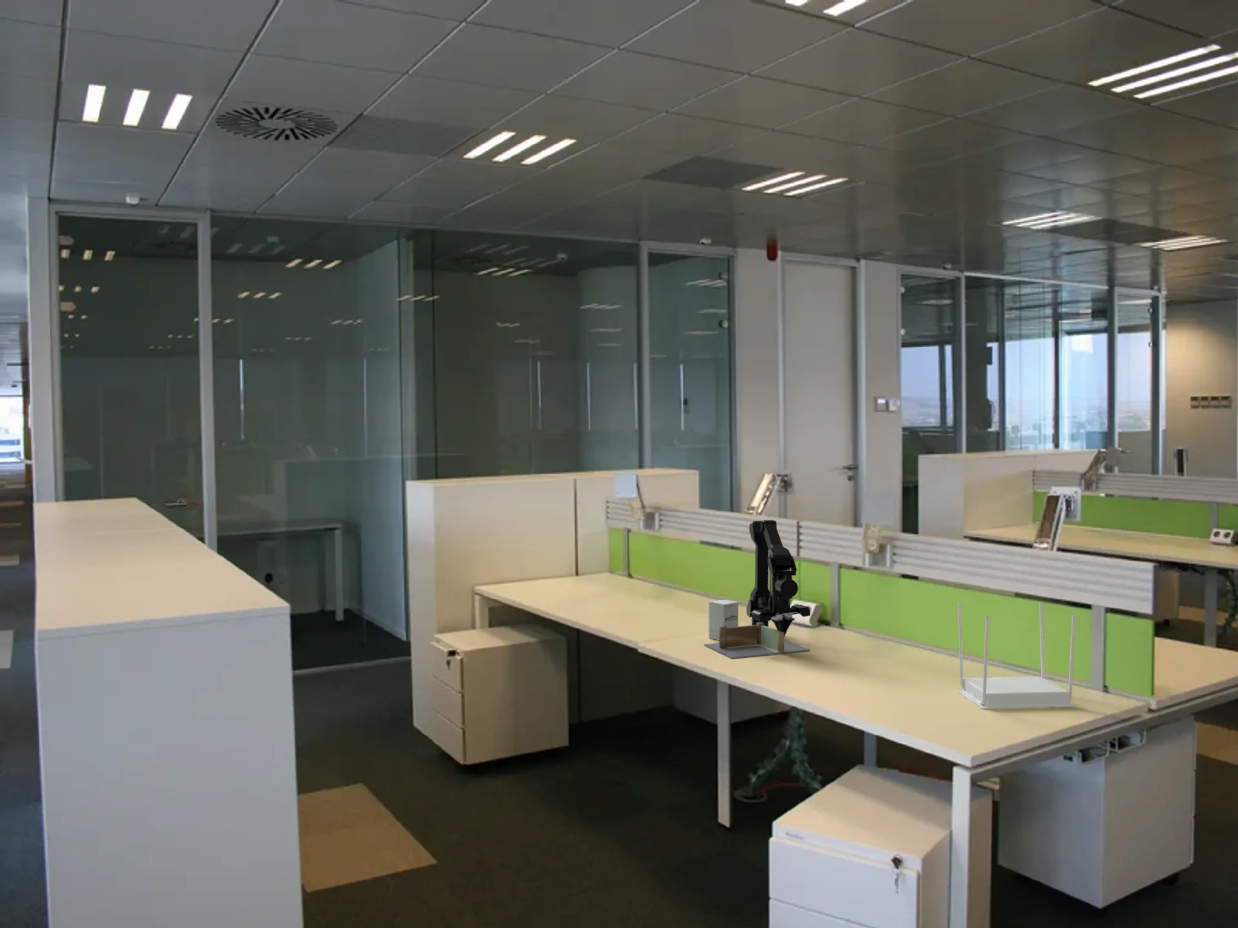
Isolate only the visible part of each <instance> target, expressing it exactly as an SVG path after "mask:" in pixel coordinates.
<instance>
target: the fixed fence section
mask: <svg viewBox="0 0 1238 928" xmlns="http://www.w3.org/2000/svg"><path fill="white" fill-rule="evenodd" d="M761 626H764V623H761V622H758V623H756V625H752V624H751V625H738V627H727V626H719V640H718V641H719V642H718V643H719V648H722V649H724V648H727V647H738V646H748V645H757V644H758V645H762V644H761Z"/></svg>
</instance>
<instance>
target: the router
mask: <svg viewBox="0 0 1238 928" xmlns="http://www.w3.org/2000/svg"><path fill="white" fill-rule="evenodd" d="M962 605H963V604H962V603H957V615H958V616H957V617H958V645H959V646H958V650H959V654H958V656H959V686H960V689H961V690H957V694H958V695H960V696H962V697H963V698H964V699H966V700H968V701H969V702H970V703H972V704H973V705H975V706H976V707H977V708H979V709H980V710H984V711H985V710H986V711H988V710H990V711H991V710H1022V708H1033V709H1048V708H1047V707H1074V708H1076V704H1074V703H1072V702H1071V701H1072V697H1073V696H1072V695H1073V680H1074V662H1075V661H1074V660H1075V659H1074V658H1075V639H1076V638H1075V637H1076V622H1077V621H1076V619H1077V615H1076V614H1071V635H1070V651H1069V652H1070V653H1069V673H1068V674H1069V675H1068V676H1069V677H1068V690H1066V689H1064V688H1063V687H1060V686H1059V685H1057V684H1055V683H1054V682H1051V681H1049V680H1047V679H1046V678H1045V676H1046V675H1045V646H1044V643H1045V642H1044V617H1043V615H1044V614H1043V613H1044V611H1043V609H1044V608H1043V607H1044V606H1043V605H1044V602H1042V601H1039V602H1038V606H1039V607H1038V609H1039V640H1040V643H1039V646H1040V671H1041V672H1040V674H1041V676H1037V675H1036V676H1006V677H1005V676H1000V677H999V676H997V677H994V676H993V677H992V676H991V677H987V675H988V657H989V656H988V655H989V634H990V633H989V632H990V631H989V629H990V619H991V618H990V616H988V615H987V616H984V620H985V623H984V624H985V628H984V629H985V631H984V651H983V654H984V655H983V672H982V673H983V676H982V677H964V664H963V663H964V660H963V621H962V615H963V614H962Z"/></svg>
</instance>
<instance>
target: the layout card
mask: <svg viewBox="0 0 1238 928" xmlns="http://www.w3.org/2000/svg"><path fill="white" fill-rule="evenodd" d="M703 645H704V647H706V648H708V649H711V650H712V651H715V652H716V653H719V654H721V655H722V656H724V657H727V658H729V659H731V660H733V659H745V658H754V657H763V656H774V655H784V654H793V653H804V652H810V651H811V649H809V648H806V647H804V646H802V645H799V644H797V643H794V642H792V641H790V640H787V639H785V638H784V651H778V650H775V649H773V648H770V647H767V646H765V645H758V644H757V645H748V646H738V647H727V648H724V649H722V648H719V642H716V643H715V642H714V643H712V642H711V643H704V644H703Z"/></svg>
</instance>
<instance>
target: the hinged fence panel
mask: <svg viewBox="0 0 1238 928" xmlns="http://www.w3.org/2000/svg"><path fill="white" fill-rule="evenodd" d="M784 639H785V637H784V632H782V631H778V630H777V629H775V628H772V627H770V626H768V627H767V626H761V644H762V645H765V646H767V647H770V648H773V649H775V650H778V651H784Z"/></svg>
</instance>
